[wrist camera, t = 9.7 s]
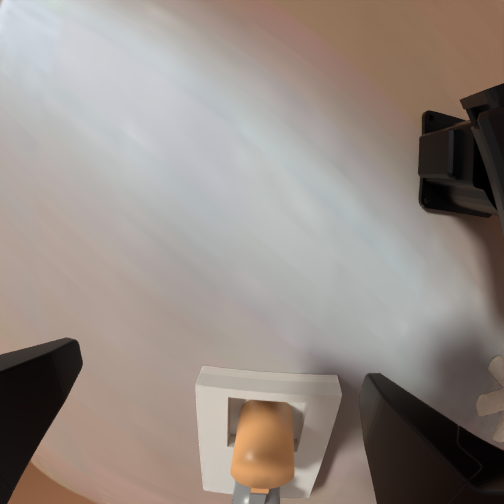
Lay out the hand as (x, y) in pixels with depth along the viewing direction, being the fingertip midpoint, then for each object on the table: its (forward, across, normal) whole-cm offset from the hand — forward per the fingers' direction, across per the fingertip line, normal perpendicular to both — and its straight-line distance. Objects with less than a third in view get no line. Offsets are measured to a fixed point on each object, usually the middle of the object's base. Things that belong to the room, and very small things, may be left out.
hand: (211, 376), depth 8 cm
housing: (+12, -2, +15) cm, 19 cm away
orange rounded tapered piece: (+11, -2, +12) cm, 16 cm away
